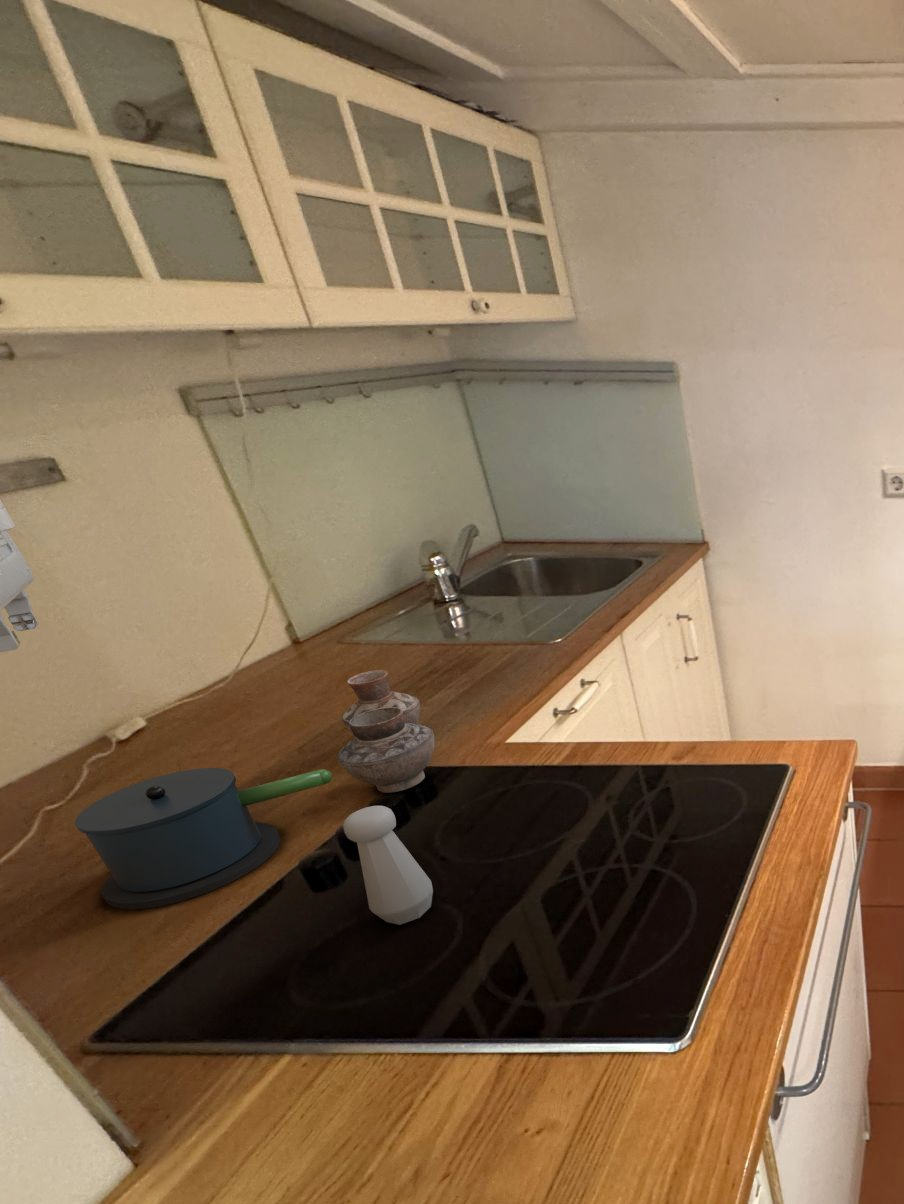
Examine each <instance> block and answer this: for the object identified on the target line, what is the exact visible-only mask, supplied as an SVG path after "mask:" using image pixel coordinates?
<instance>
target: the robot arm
mask: <svg viewBox="0 0 904 1204" xmlns="http://www.w3.org/2000/svg"><path fill="white" fill-rule="evenodd" d="M15 527H16V525H15V523H14V521H13V519H12V517H11V515H10V514H9V511H8V510H7V509H6V507H5V505H4V503H3V502H2V500H1V499H0V653H3V652H10V651H15V650H17V649H18V648H19V647H20V645H21V641H20V639H19V638H18V636H17V634H16V633H15V631H14V630H16V631H18V632H23V631H27V630H34V629H35V628H36V627H37V626H38V625H39V621H38V619H37V617H36V616H35V614H34V612H33V608H32V604H31V602H30V598H29V595H28V593H27V591H26V588H27V587H29V585H31V584H32V583H33V582H34V581H35V577H34V574H33V571H32V569H31V567H30V565H29V564H28V562H27V560H26V559H25V557H24V555H23V554H22V552H21V551H20V549H19V548H18V546H17V544H16V543H15V541H14V540H13V538H12V537H11V536H10V534H9V533H8V531H10V530H13V529H14V528H15ZM4 609H5V611H6V613H7V615H8V617H7V619H8V621H9V622H10V624H11V625H12V627H13V629H14V630H11V629H10V628H9V626H8V625H7V623H6V622H5V620H4V619H5V617H4V615H3V614H2V610H4Z"/></svg>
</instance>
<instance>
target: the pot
mask: <svg viewBox="0 0 904 1204" xmlns="http://www.w3.org/2000/svg"><path fill="white" fill-rule="evenodd" d="M332 779H333V774H332V773H331V771H330V770H328V769H324V768H320V769H315V770H313V771H309V772H305V773H300V774H297V775H294V776H290V777H285V778H282V779H279V780H275V781H271V782H268V783H263V784H260V785H256V786H252V787H248V788H244V789H241V790H239V789H238V787H237V785H236V782H237V778H236V776H235V774H234V772H233V771H232V770H229V769H227V768H222V767H200V768H191V769H186V770H180V771H175V772H171V773H167V774H163V775H158V776H155V777H152V778H148V779H146V780H143V781H140V782H137V783H134V784H131V785H129V786H126V787H124V788H121V789H119V790H116V791H113V792H112V793H110V794H107V795H106V796H103V797H102V798H99V799H97V800H96V801H94V802H93V803H91V804H90V805H87V807H86V808H84V809H83V810H82V811H81V812H80V813H79V814H78V815H77V816H76V818H75V820H74V825H75V827H76V829H77V830H78V832H80V833H82V834H85V835H86V837H87V839H88V841H89V842H90V844H91V845H92V847H93V848H94V850H95V852H96V853H97V854H98V856H99V857H100V859H101V861H102V863H104V865H105V867H106V868H107V869H108V872H109V873H110V875H112V876H113V878H114V879H115V881H116V882H117V884H118V885H119V887H120V888H122V889H123V890H127V891H132V892H147V891H156V890H161V889H166V888H171V887H175V886H178V885H182V884H185V883H189V882H192V881H195V880H197V879H200V878H203V877H205V876H208V875H210V874H212V873H215V872H217V871H219V870H221V869H223V868H225V867H227V866H229V865H231V864H233V863H234V862H236V861H238V860H239V859H241V858H242V857H244V856H245V855H246V854H248V853H249V852H250V851H251V850H252V849H253V848H255V846H256V845H257V844H258V842H259V841H260V838H261V833H260V831H259V829H258V827H257V825H256V823H255V822H256V821H255V819H254V818H253V815H252V813H251V812H250V810H249V807H248V806H251V805H254V804H258V803H262V802H265V801H269V800H272V799H276V798H280V797H284V796H287V795H291V794H295V793H298V792H303V791H306V790H309V789H314V788H316V787H320V786H324V785H327V784H329V783H330V782H331V781H332Z"/></svg>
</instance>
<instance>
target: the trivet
mask: <svg viewBox="0 0 904 1204" xmlns="http://www.w3.org/2000/svg"><path fill="white" fill-rule="evenodd" d="M255 823H256V825H257V827H258V829H259V831H260V833H261V838H260V841H259V842H258V844H257V845H256V846H255V848H253V849H252V850H251V851H250V852H249V853H248V854H246V855H245V856H244V857H242V858H241V859H239V860H238V861H236V862H234V863H233V864H231V865H229V866H227V867H225V868H223V869H221V870H219V871H217V872H215V873H212V874H210V875H208V876H205V877H203V878H200V879H197V880H195V881H192V882H189V883H185V884H182V885H178V886H175V887H171V888H166V889H161V890H156V891H147V892H132V891H127V890H123V889H122V888H120V887H119V885H118V884H117V882H116V881H115V879H114V878H113V876H112V875H111V874H110V875H109V876H108V877H107V878H106V879H105V881H104V882H103V884H102V887H101V889H100V890H101V891H100V893H101V897H102V898H103V899H104V901H105V902H106V903H107V904H108V905H109V906H111V907H112V908H115V909H119V910H127V911H129V910H131V911H132V910H134V911H135V910H146V909H154V908H160V907H164V906H169V905H173V904H176V903H181V902H184V901H187V900H191V899H194V898H196V897H199V896H202V895H205V894H207V893H210V892H212V891H216V890H217V889H220V888H221V887H224V886H227V885H228V884H230V883H233V882H234V881H236V880H238V879H240V878H242V877H243V876H245V875H247V874H249V873H250V872H252V871H254V870H255V869H257V868H258V867H260V866H261V865H262V864H264V863H265V862H266V861H268V859H270V857H272V856H273V855H274V854H275V853H276V851H277V849H278V848H279V846H280V843H281V836H280V834H279V832H278V830H277V828H276V827H275V826H273V825H271V824H269V823H266V822H261V821H255Z"/></svg>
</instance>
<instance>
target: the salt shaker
mask: <svg viewBox="0 0 904 1204" xmlns="http://www.w3.org/2000/svg"><path fill="white" fill-rule="evenodd" d="M342 826H343V832H344V835H345V836H346V838H347V839H348V840H350V841H352V842H354V843H356V845H357V850H358V855H359V860H360V865H361V871H362V876H363V882H364V887H365V892H366V897H367V904H368V908H369V910H370V912H371V913H373V914H374V915H376V916H378V918H380V919H382V920H383V921H385V922H386V923H389V924H394V925H398V926H401V925H404V924H406V923H410V922H412V921H415V920H417V919H420V918H421V917H422V916H423V915H424V914H425V913H426V912H427V911H428V910H429V909H430V908H431V907H432V903H433V894H434V889H433V884H432V880H431V879H430V877H429V876H428V874H427V873H426V872H425V870H424V869H422V867H421V865H419V863H418V862H417V860H416V859H415V858H414V856H412V854H411V853H410V851H409V849H407V847H406V846H405V844H404V843H403V842H402V841H401V840H400V838H399V836H398V835H396V833H395V832H394V829H395V828H396V827H397V820H396V816H395V813H394V812H393V810H392V809H391V808H389V807H388V806H384V805H371V806H367V807H364V808H361V809H358V810H356V811H354V812H352V813H351V814H349V815H348V816H347V817H346V818H345V820H344V821H343V825H342Z"/></svg>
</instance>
